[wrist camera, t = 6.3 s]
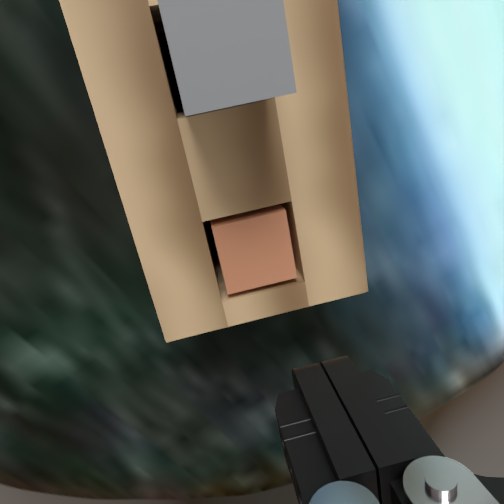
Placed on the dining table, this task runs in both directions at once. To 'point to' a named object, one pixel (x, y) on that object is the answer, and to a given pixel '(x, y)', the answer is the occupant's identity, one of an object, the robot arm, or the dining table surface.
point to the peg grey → (228, 51)
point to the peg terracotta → (254, 248)
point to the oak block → (225, 164)
